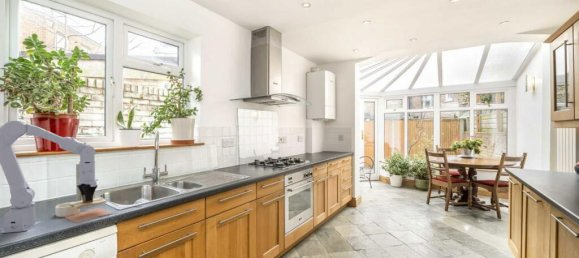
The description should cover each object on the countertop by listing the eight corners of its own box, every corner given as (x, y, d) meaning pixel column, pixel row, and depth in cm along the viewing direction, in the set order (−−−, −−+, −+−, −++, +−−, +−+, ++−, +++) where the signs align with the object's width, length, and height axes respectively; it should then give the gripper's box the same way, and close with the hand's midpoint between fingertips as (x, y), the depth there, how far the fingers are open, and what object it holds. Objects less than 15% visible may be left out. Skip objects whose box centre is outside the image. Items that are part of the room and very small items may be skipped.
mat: (111, 213, 122) (111, 213, 122) (75, 223, 110) (75, 222, 110) (98, 208, 130) (98, 208, 130) (63, 217, 118) (63, 216, 118)
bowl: (74, 216, 119) (74, 206, 119) (51, 218, 117) (50, 208, 117) (84, 210, 128) (84, 201, 128) (62, 211, 125) (62, 202, 125)
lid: (106, 202, 122) (106, 193, 122) (78, 209, 113) (77, 199, 112) (96, 199, 128) (96, 190, 128) (68, 204, 118) (68, 195, 118)
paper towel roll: (98, 200, 145) (97, 162, 145) (88, 203, 139) (88, 164, 139) (86, 199, 146) (85, 162, 145) (76, 203, 140) (75, 163, 139)
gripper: (104, 171, 119) (104, 200, 119) (90, 168, 127) (91, 195, 127) (85, 173, 113) (86, 204, 114) (73, 170, 121) (73, 199, 121)
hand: (87, 200), depth 120 cm, fingers closed on lid, 3 cm apart
